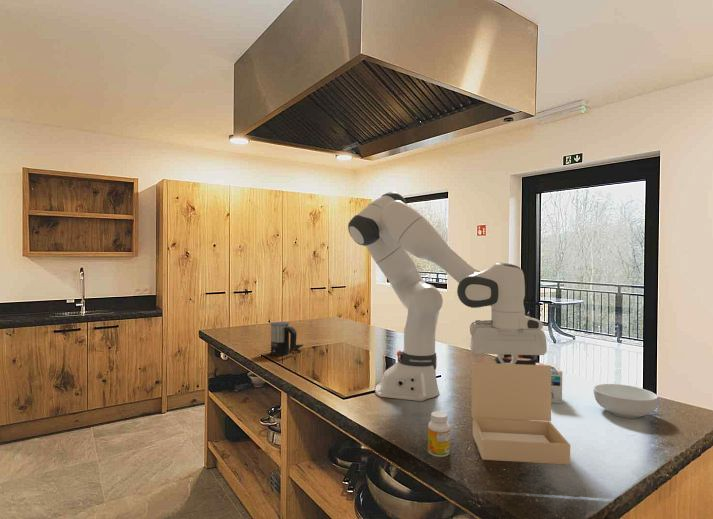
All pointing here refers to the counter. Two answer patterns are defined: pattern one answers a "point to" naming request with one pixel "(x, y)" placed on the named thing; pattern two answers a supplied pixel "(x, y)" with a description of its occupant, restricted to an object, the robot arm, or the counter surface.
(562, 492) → the counter surface
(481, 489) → the counter surface
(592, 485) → the counter surface
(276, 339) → the milk frother
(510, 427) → the tray
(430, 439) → the supplement bottle
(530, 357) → the casserole
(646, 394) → the cereal bowl
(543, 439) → the tissue paper
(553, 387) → the light bulb box
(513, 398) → the mailer lid
